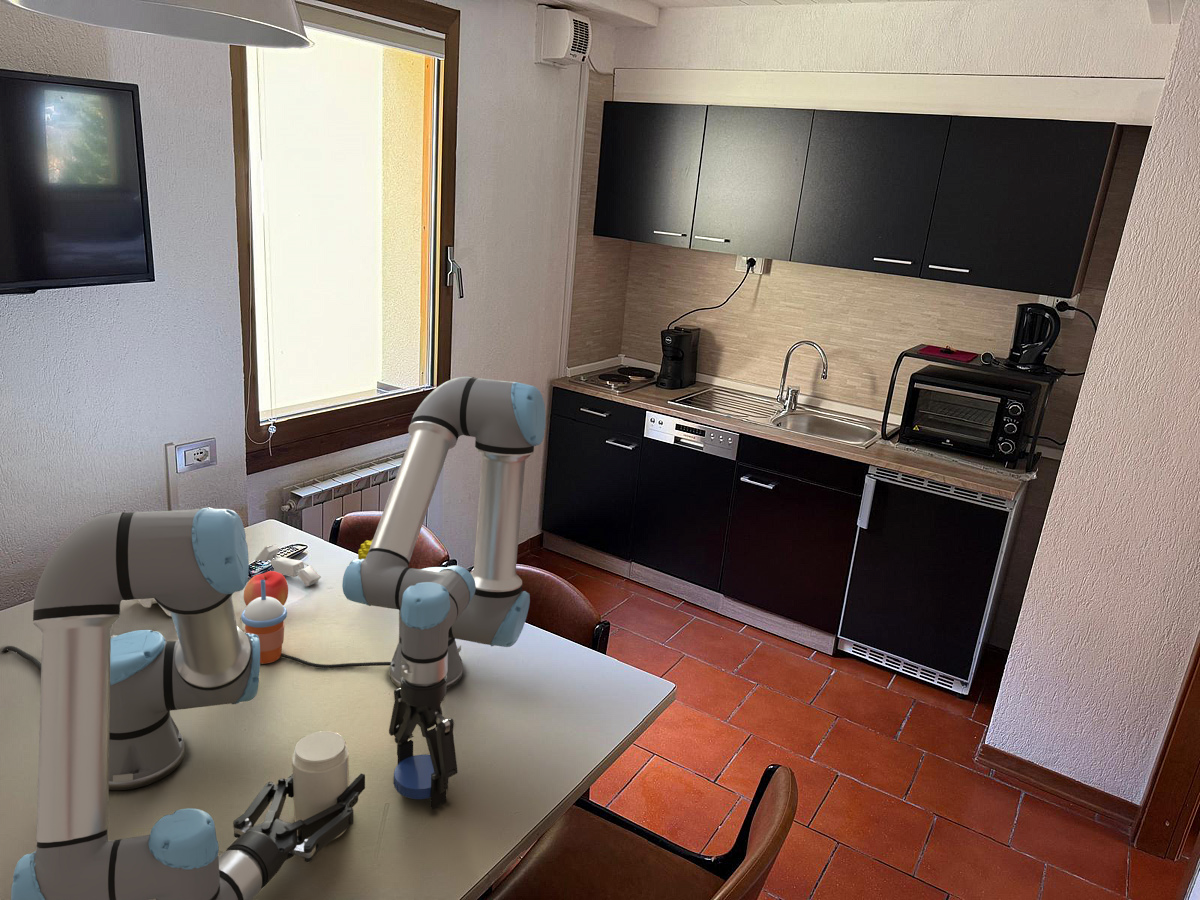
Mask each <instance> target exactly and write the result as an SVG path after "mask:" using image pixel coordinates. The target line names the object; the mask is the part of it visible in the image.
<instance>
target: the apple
mask: <svg viewBox="0 0 1200 900" xmlns="http://www.w3.org/2000/svg"><path fill="white" fill-rule="evenodd" d="M261 580H265V588H266V596H268V597H273V598H275V599H277V600H278V601H279V602H280V603H281V604H282V605H283V606H284V607H285V605H286V603H287V600H288V597H289V584H288V581H287V579H286V577H285V575H282V574H281V573H278V572H275V571H268V570H267V571H266V572H264V573H259V574H255V575H254V576H253V577H251V578H250V579H249V580H248V581H247V583H246V586H245V587H244V589H243V601H244V604H245V607H247V605H248V604H249V603H250V602H251V601H253V600H254V599H256V598H259V597H261Z"/></svg>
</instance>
